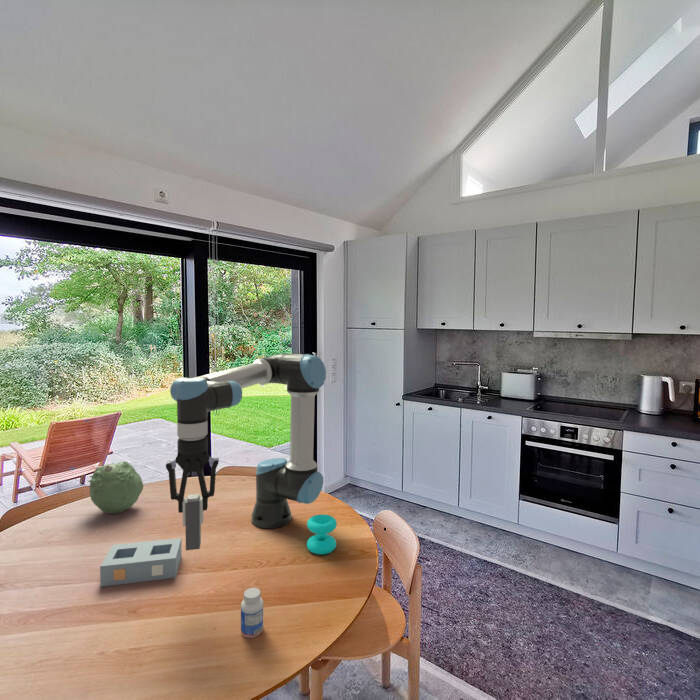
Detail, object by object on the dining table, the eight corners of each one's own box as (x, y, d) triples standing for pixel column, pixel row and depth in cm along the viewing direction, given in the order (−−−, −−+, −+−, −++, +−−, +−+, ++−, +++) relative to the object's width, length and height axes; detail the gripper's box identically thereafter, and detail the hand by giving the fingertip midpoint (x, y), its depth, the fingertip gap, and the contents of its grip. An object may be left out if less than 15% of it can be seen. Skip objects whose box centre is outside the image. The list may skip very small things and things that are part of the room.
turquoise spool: (301, 519, 142) (322, 510, 149) (300, 548, 142) (322, 537, 150) (321, 529, 135) (342, 519, 142) (320, 559, 136) (342, 548, 143)
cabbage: (150, 509, 169) (150, 460, 168) (99, 526, 154) (98, 473, 153) (132, 499, 179) (132, 452, 178) (82, 514, 164) (82, 463, 163)
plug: (200, 542, 116) (200, 493, 115) (199, 548, 112) (199, 498, 111) (187, 543, 115) (187, 494, 114) (185, 550, 111) (185, 499, 111)
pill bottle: (242, 623, 106) (242, 585, 105) (264, 622, 106) (264, 585, 106) (238, 639, 101) (239, 599, 100) (261, 638, 101) (262, 599, 100)
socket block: (181, 556, 136) (181, 538, 136) (175, 578, 124) (175, 558, 124) (112, 563, 131) (112, 544, 131) (100, 587, 119) (99, 566, 119)
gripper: (225, 431, 117) (225, 513, 119) (161, 434, 113) (162, 519, 115) (224, 439, 110) (224, 525, 112) (156, 442, 106) (157, 532, 107)
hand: (193, 522), depth 113 cm, fingers closed on plug, 3 cm apart
